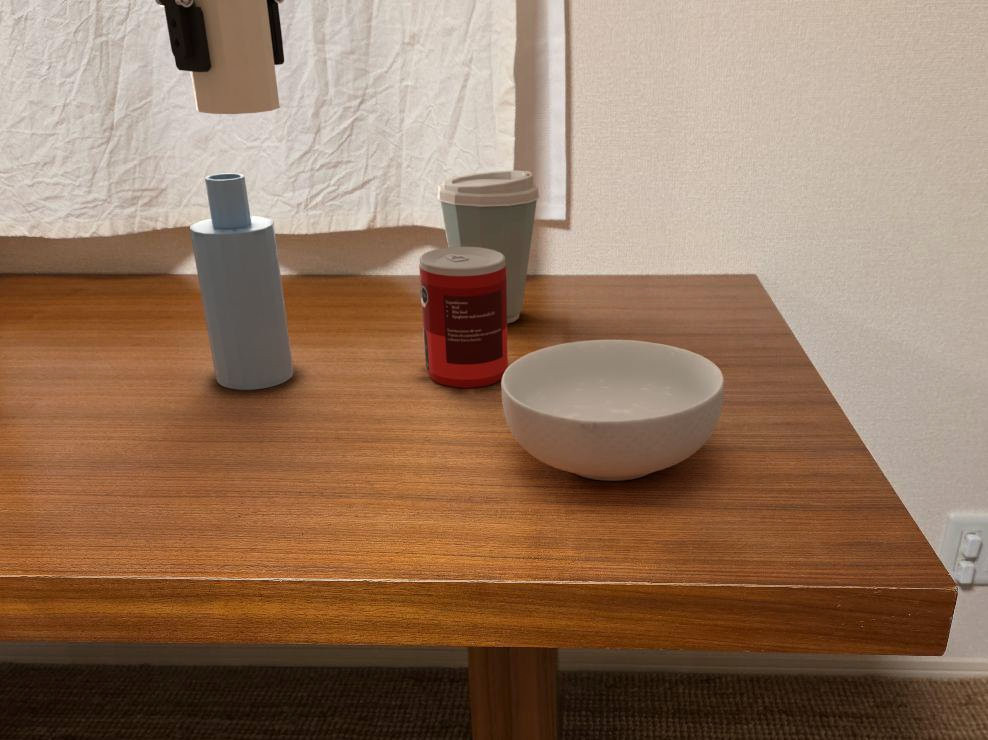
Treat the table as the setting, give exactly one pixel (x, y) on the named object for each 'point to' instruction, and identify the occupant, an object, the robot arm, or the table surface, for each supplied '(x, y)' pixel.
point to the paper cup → (236, 59)
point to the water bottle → (241, 289)
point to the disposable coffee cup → (493, 221)
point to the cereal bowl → (612, 406)
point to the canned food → (464, 315)
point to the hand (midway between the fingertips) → (231, 64)
